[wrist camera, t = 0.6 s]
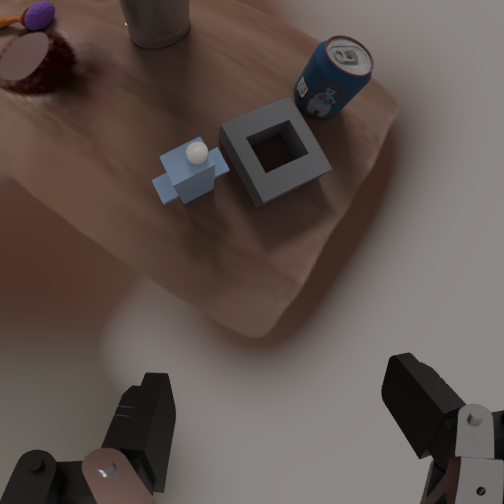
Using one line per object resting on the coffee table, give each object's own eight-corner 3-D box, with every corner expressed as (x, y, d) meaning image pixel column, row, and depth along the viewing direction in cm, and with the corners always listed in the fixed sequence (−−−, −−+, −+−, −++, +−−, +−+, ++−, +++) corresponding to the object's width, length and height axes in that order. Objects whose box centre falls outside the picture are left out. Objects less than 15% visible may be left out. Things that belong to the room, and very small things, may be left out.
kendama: (-2, 6, 25) (56, -7, 26) (7, 23, 31) (64, 15, 32) (-21, 25, 24) (33, 12, 25) (-11, 42, 29) (43, 35, 30)
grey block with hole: (219, 139, 36) (220, 123, 31) (280, 113, 37) (289, 96, 32) (256, 208, 36) (263, 202, 31) (318, 178, 37) (332, 168, 33)
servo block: (170, 211, 35) (152, 193, 23) (159, 190, 35) (138, 163, 23) (226, 182, 36) (235, 152, 24) (215, 161, 35) (219, 123, 24)
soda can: (329, 79, 38) (364, 33, 26) (344, 120, 38) (387, 81, 26) (285, 81, 37) (311, 30, 25) (299, 124, 37) (332, 80, 25)
